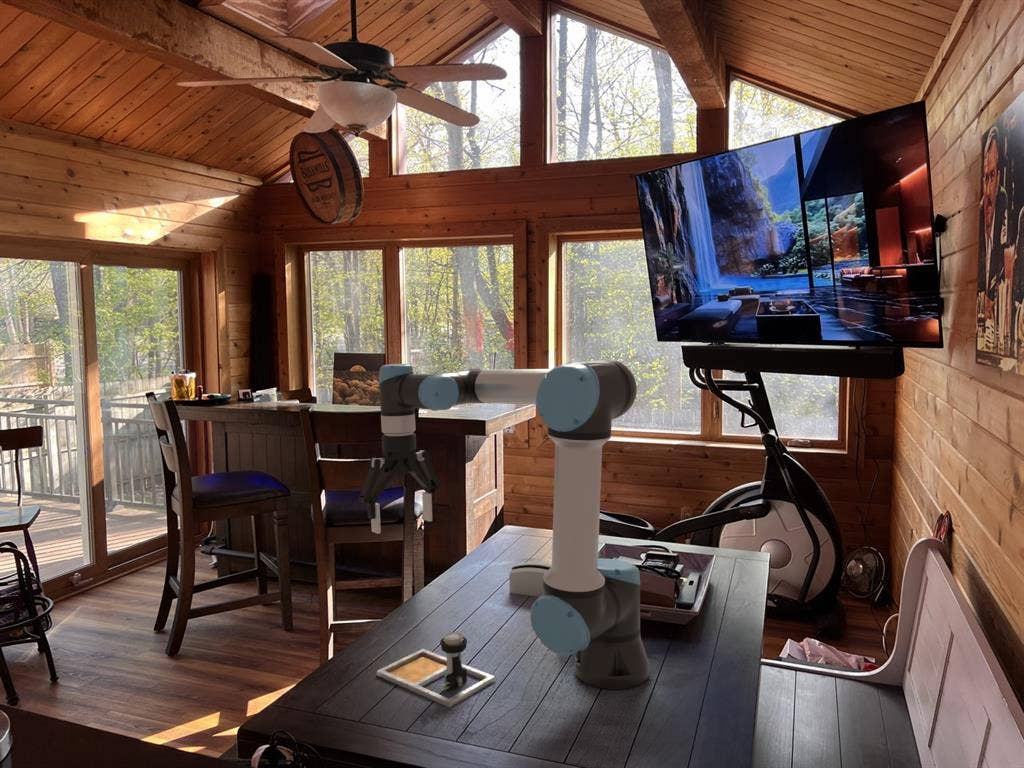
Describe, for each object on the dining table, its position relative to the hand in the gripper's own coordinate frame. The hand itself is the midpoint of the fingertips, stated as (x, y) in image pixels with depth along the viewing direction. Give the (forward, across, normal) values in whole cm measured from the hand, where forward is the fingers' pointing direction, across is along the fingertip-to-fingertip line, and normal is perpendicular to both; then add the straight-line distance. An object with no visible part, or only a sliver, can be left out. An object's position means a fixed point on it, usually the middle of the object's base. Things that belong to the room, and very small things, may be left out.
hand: (402, 526), depth 173 cm
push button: (+27, +5, +25) cm, 37 cm away
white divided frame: (+26, +6, +20) cm, 34 cm away
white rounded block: (+27, -40, +1) cm, 48 cm away
